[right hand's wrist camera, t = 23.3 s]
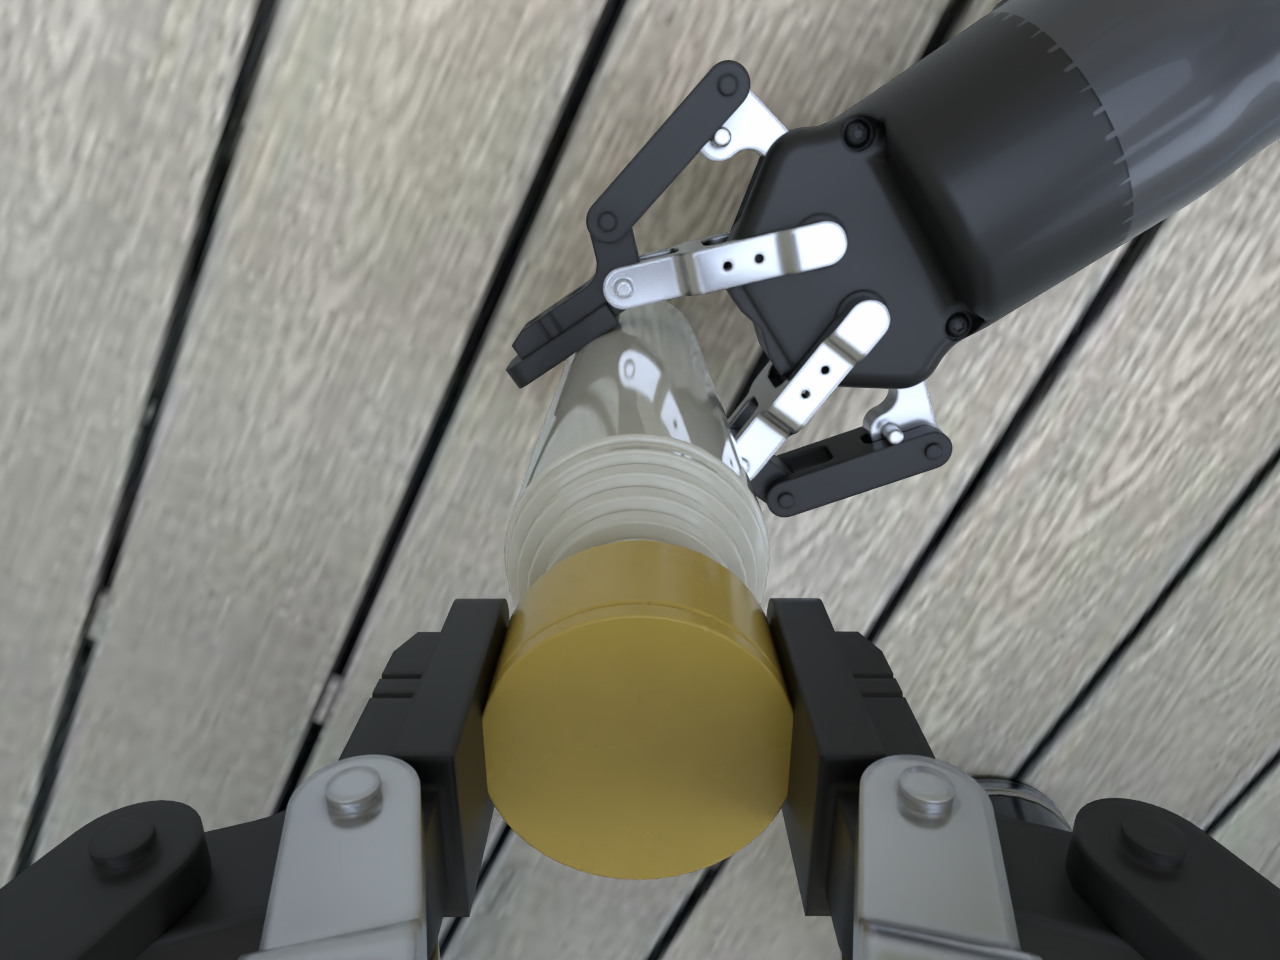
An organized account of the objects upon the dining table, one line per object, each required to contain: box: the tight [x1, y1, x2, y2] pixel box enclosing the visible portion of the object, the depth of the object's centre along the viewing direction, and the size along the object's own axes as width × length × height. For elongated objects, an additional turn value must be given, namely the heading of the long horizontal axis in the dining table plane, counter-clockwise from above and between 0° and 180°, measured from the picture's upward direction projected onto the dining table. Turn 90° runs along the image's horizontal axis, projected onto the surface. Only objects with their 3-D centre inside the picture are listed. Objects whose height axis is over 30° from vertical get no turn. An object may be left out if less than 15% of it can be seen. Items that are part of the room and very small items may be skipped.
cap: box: [482, 540, 793, 880], centre depth 11 cm, size 4×4×2 cm
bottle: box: [505, 300, 770, 608], centre depth 22 cm, size 5×5×23 cm
